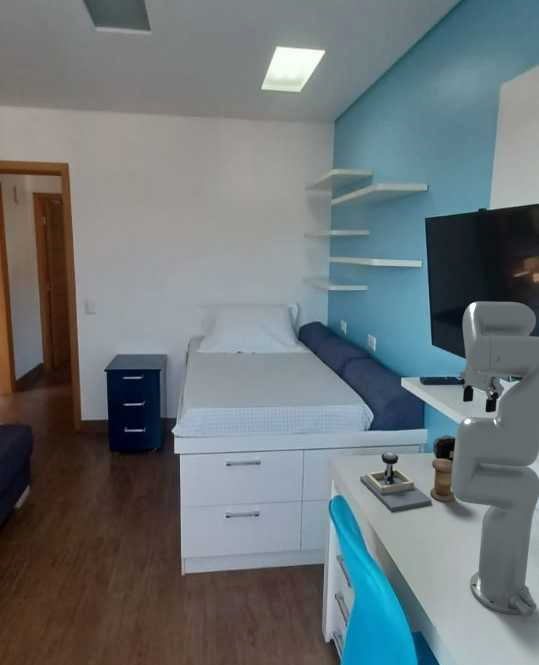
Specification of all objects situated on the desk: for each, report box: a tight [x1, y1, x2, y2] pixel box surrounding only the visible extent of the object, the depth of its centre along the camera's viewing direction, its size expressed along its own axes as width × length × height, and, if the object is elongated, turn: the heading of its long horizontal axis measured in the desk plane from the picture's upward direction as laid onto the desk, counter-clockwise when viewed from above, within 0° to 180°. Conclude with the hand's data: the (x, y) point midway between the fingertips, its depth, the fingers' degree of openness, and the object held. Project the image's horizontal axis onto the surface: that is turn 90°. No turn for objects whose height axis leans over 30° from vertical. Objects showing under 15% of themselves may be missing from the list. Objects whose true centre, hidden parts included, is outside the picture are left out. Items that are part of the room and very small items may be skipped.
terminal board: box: [359, 468, 432, 512], centre depth 151 cm, size 20×14×3 cm
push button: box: [381, 451, 399, 485], centre depth 153 cm, size 7×5×10 cm
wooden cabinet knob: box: [430, 458, 455, 503], centre depth 147 cm, size 7×7×11 cm
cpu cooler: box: [432, 434, 456, 461], centre depth 169 cm, size 10×6×10 cm, turn 97°
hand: (478, 406), depth 141 cm, fingers open, 9 cm apart
